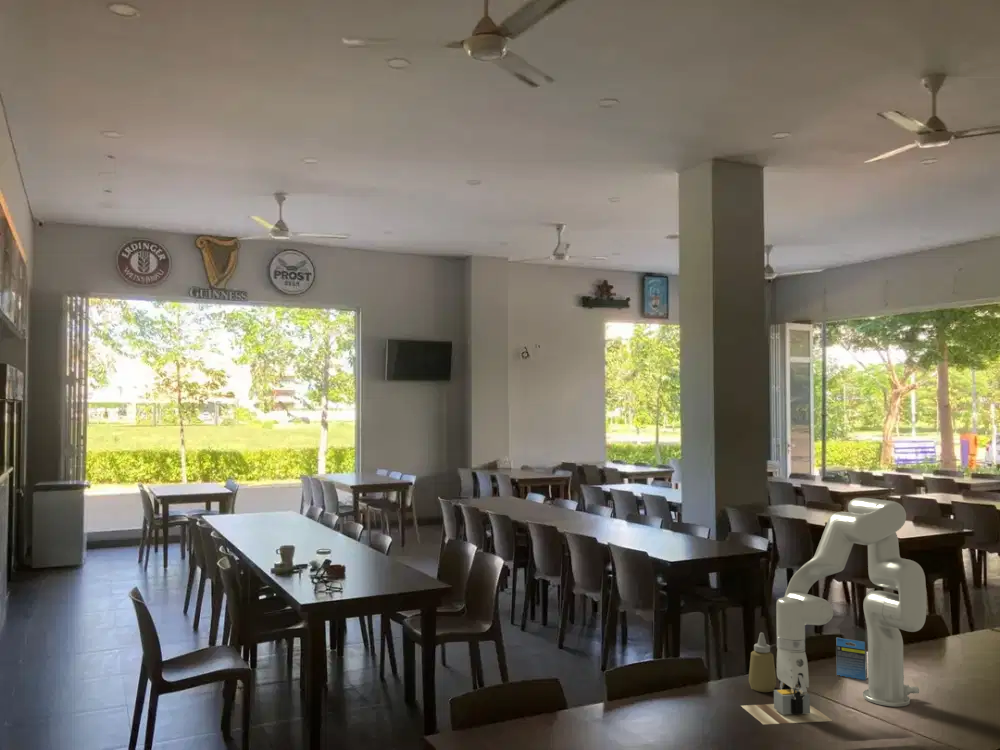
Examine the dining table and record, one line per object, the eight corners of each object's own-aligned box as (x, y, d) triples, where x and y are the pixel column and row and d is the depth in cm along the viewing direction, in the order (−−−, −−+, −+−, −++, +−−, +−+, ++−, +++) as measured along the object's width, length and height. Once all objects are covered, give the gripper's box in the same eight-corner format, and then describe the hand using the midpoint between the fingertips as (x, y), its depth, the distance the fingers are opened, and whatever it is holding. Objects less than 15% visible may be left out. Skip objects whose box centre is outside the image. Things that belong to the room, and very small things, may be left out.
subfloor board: (806, 707, 232) (806, 702, 232) (833, 726, 218) (833, 720, 218) (740, 711, 229) (740, 705, 229) (763, 730, 215) (763, 724, 215)
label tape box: (867, 677, 259) (867, 638, 260) (865, 681, 256) (865, 641, 256) (838, 672, 264) (837, 634, 264) (836, 676, 260) (835, 637, 261)
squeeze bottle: (778, 698, 239) (777, 637, 240) (750, 696, 241) (749, 635, 242) (774, 689, 247) (773, 630, 248) (747, 688, 249) (746, 628, 249)
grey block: (800, 706, 227) (800, 687, 227) (810, 713, 222) (809, 693, 222) (774, 708, 226) (773, 688, 226) (782, 714, 221) (782, 695, 221)
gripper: (819, 651, 217) (820, 720, 216) (788, 634, 234) (789, 698, 233) (793, 652, 216) (794, 722, 215) (764, 635, 233) (764, 699, 232)
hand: (791, 709), depth 224 cm, fingers closed on grey block, 5 cm apart
